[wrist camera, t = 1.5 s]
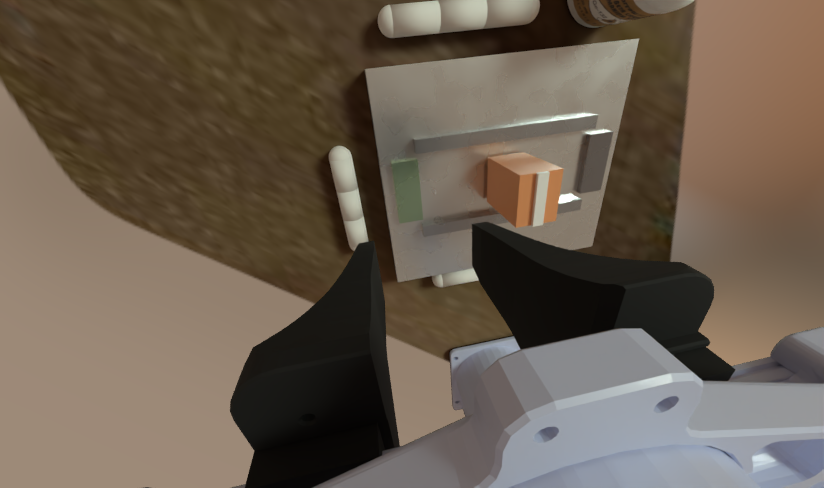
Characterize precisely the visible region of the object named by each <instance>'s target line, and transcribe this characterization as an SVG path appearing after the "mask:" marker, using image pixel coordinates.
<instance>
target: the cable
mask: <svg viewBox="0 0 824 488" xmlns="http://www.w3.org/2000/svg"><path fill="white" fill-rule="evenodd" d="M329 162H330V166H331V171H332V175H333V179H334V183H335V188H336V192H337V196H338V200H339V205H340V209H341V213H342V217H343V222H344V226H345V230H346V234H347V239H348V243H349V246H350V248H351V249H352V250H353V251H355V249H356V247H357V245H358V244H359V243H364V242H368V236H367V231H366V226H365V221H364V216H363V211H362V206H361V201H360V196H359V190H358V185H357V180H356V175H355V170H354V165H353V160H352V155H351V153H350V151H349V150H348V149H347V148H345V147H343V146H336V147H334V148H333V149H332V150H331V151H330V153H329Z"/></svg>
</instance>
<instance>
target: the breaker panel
mask: <svg viewBox="0 0 824 488" xmlns="http://www.w3.org/2000/svg"><path fill="white" fill-rule="evenodd" d="M638 42H639V39H631V40H622V41H613V42H604V43H595V44H586V45H577V46H568V47H559V48H550V49H541V50H532V51H523V52H514V53H505V54H496V55H487V56H479V57H470V58H461V59H452V60H443V61H434V62H425V63H416V64H407V65H398V66H389V67H380V68H371V69H365V70H364V72H365V79H366V85H367V91H368V98H369V104H370V111H371V117H372V124H373V130H374V137H375V143H376V149H377V156H378V162H379V169H380V175H381V182H382V188H383V195H384V201H385V208H386V214H387V220H388V227H389V233H390V240H391V246H392V253H393V259H394V266H395V272H396V276H397V281H398V282H402V281H408V280H413V279H418V278H424V277H429V276H434V275H440V274H445V273H451V272H456V271H461V270H467V269H472V268H473V266H472V224H475V223H481V222H489V223H492V224H495V225H498V226H500V227H503V228H505V229H508V230H510V231H513V232H515V233H518V234H521V235H523V236H526V237H528V238H531V239H534V240H537V241H540V242H543V243H546V244H549V245H553V246H556V247H560V248H564V249H568V250H574V249H579V248H585V247H590V246H592V244H593V240H594V236H595V231H596V227H597V222H598V218H599V214H600V209H601V205H602V200H603V196H604V192H605V187H606V183H607V178H608V174H609V170H610V165H611V161H612V156H613V152H614V147H615V143H616V139H617V134H618V130H619V125H620V121H621V117H622V112H623V108H624V103H625V99H626V95H627V90H628V86H629V81H630V77H631V73H632V68H633V64H634V59H635V55H636V51H637V46H638ZM521 152H525V153H527V154H530V155H532V156H534V157H537V158H539V159H542V160H544V161H547V162H549V163H551V164H554V165H556V166H559V167H561V168H563V169H564V170H563V177H562V183H561V190H560V197H559V203H558V210H557V217H556V221H553V222H547V223H543V225H540V226H534V227H533V226H531V225H530V226H524V227H518V228H515V227H514V226H513V225H512V224H511V223H510V222H509V221H508V220H507V219H505V218H504V217H503V216H502V215H501V214H500V213H499V212H498V211H497V210H495V209H494V208H493V207H492V206H491V205H490V204H489V203H488V202H487V173H488V157H494V156H500V155H507V154H514V153H521Z"/></svg>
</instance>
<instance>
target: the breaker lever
mask: <svg viewBox="0 0 824 488" xmlns="http://www.w3.org/2000/svg"><path fill="white" fill-rule="evenodd" d="M563 170H564V169H563V168H561V167H559V166H556V165H554V164H551V163H549V162H547V161H544V160H542V159H539V158H537V157H534V156H532V155H530V154H527V153H525V152H521V153H514V154H507V155H500V156H494V157H488V173H487V202H488V203H489V204H490V205H491V206H492V207H493V208H494V209H495V210H497V211H498V212H499V213H500V214H501V215H502V216H503V217H504V218H505V219H507V220H508V221H509V222H510V223H511V224H512V225H513V226H514V227H515V228H518V227H524V226H530V225H531V226H533V227H534V226H540V225H543V223H547V222H553V221H556V217H557V210H558V203H559V197H560V190H561V183H562V177H563Z"/></svg>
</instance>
